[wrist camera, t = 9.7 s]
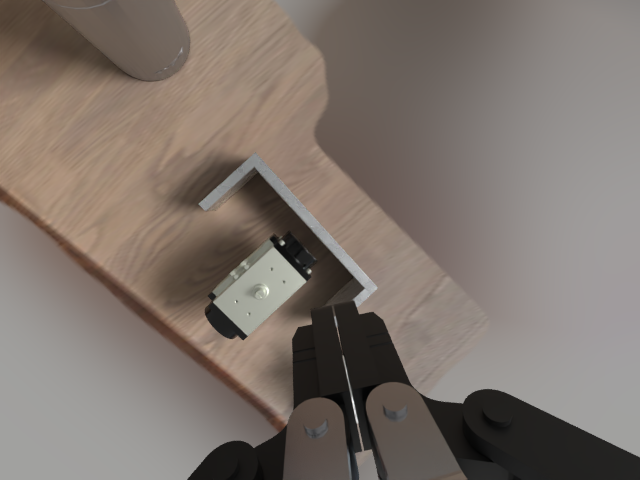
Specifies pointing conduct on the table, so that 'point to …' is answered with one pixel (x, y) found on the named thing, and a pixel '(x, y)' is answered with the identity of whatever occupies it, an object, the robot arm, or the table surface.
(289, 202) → the cradle
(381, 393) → the robot arm
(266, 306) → the pneumatic valve
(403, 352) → the table surface
